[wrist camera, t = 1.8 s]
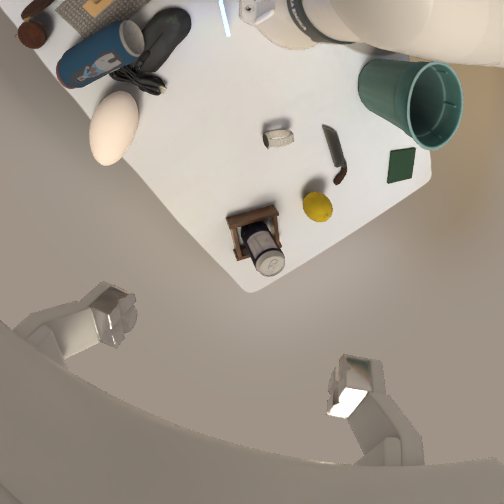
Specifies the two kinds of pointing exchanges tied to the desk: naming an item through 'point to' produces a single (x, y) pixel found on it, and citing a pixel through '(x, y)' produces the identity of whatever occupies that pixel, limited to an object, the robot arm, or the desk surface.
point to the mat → (401, 165)
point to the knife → (336, 153)
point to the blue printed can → (100, 54)
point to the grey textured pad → (97, 13)
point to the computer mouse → (156, 49)
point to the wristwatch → (277, 142)
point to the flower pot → (414, 98)
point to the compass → (33, 25)
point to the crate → (248, 219)
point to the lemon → (317, 207)
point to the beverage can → (263, 249)
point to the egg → (113, 127)
